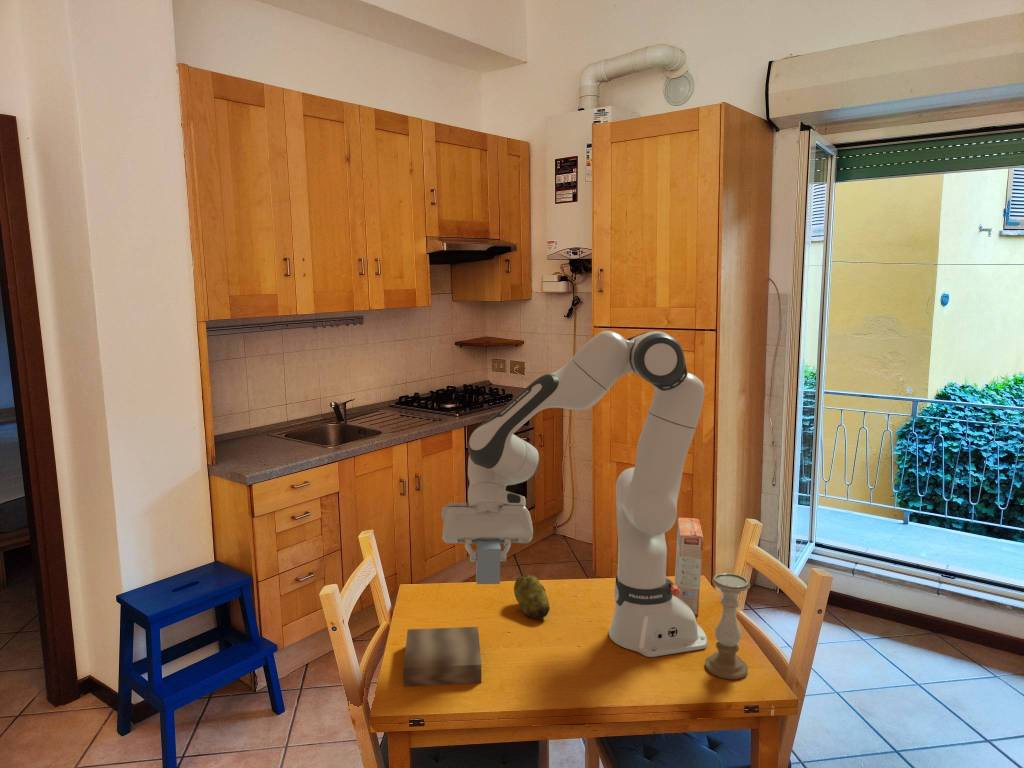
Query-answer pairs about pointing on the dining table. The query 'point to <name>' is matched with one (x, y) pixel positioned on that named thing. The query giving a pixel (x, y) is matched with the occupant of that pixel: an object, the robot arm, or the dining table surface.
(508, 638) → the dining table surface
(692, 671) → the dining table surface
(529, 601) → the potato
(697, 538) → the cracker box
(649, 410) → the robot arm
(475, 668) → the plinth
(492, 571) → the block
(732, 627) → the candle holder
